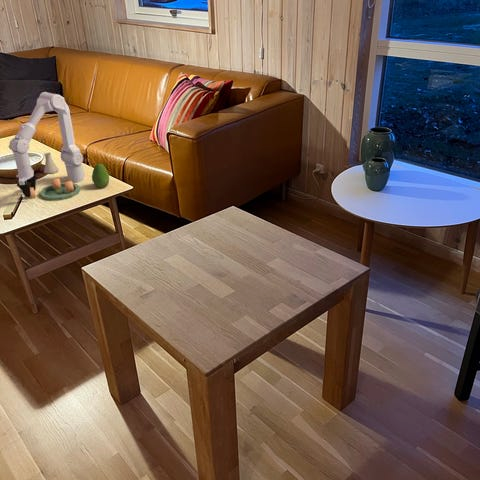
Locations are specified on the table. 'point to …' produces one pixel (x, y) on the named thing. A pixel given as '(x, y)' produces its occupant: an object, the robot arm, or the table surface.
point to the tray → (58, 192)
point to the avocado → (100, 176)
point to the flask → (50, 165)
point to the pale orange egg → (32, 193)
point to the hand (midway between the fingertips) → (30, 193)
